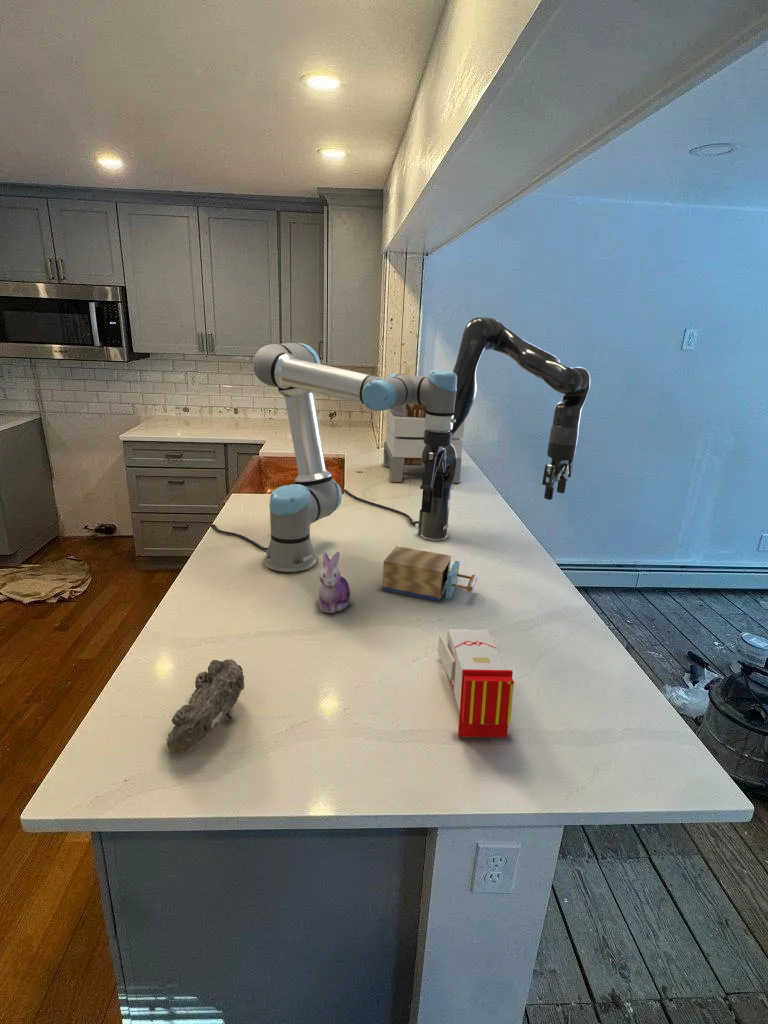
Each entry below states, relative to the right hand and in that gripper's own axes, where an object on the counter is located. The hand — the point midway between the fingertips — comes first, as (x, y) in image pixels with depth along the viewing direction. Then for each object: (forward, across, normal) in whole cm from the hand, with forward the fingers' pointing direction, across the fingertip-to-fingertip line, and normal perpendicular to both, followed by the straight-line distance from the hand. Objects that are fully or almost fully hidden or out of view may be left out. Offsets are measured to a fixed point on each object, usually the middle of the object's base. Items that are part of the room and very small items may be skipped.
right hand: (554, 495), depth 164 cm
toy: (+26, +63, +13) cm, 69 cm away
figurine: (+26, +57, -32) cm, 70 cm away
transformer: (+26, -64, -94) cm, 117 cm away
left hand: (+3, +26, -24) cm, 36 cm away
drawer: (+25, +30, -18) cm, 43 cm away
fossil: (+26, +103, -19) cm, 108 cm away
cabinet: (+26, +33, -23) cm, 48 cm away
